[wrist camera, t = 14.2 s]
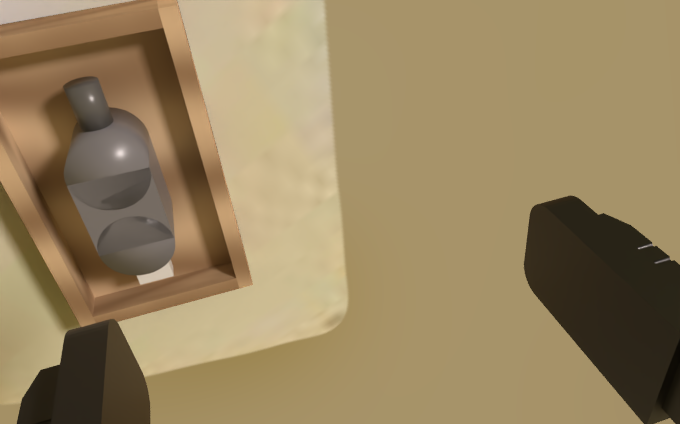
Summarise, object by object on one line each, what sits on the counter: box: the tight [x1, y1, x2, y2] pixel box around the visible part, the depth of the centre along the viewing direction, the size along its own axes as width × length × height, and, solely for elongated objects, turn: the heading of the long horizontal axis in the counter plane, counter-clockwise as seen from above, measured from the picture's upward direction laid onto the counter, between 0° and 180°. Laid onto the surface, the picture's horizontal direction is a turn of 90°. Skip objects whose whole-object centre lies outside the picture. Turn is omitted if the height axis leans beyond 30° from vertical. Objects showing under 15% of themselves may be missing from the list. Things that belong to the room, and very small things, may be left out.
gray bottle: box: [63, 76, 175, 285], centre depth 33 cm, size 14×4×4 cm, turn 6°
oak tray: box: [0, 0, 253, 327], centre depth 35 cm, size 20×12×3 cm, turn 7°
